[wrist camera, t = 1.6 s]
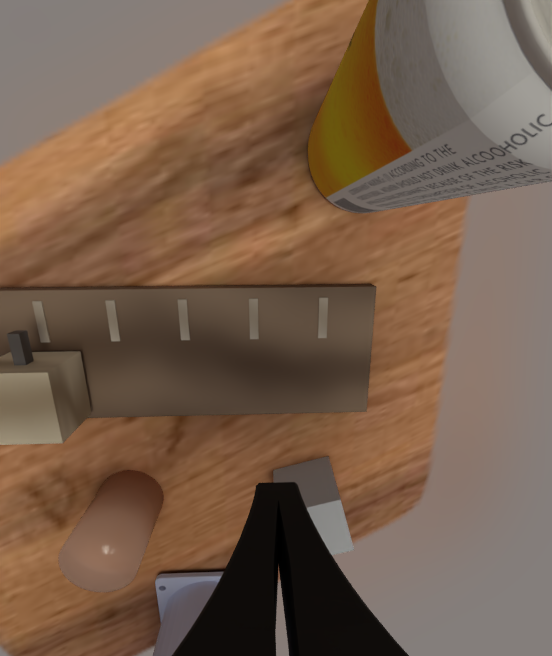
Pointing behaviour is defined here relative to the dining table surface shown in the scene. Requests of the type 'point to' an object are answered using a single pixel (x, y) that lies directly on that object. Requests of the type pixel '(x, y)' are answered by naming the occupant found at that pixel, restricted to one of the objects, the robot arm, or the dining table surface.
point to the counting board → (205, 345)
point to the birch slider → (40, 393)
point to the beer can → (437, 104)
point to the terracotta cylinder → (112, 533)
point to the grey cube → (320, 500)
